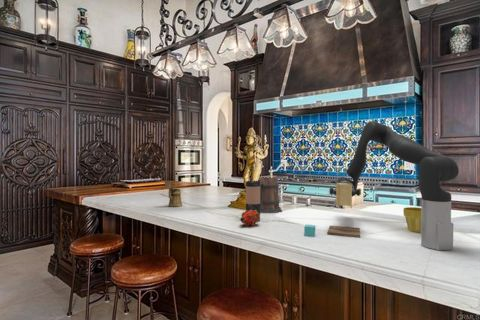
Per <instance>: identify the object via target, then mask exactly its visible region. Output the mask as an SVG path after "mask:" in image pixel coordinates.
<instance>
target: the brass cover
mask: <svg viewBox="0 0 480 320" xmlns="http://www.w3.org/2000/svg"><path fill="white" fill-rule="evenodd" d="M336 183H337V182H336ZM335 187H336V188H335V189H336V199H335V201H336V204H335V205H336V206H335V207H336V208H338V207H339V206H345V207H349V208H350V209H352V208H353V196H352V183H337V184H335Z"/></svg>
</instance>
